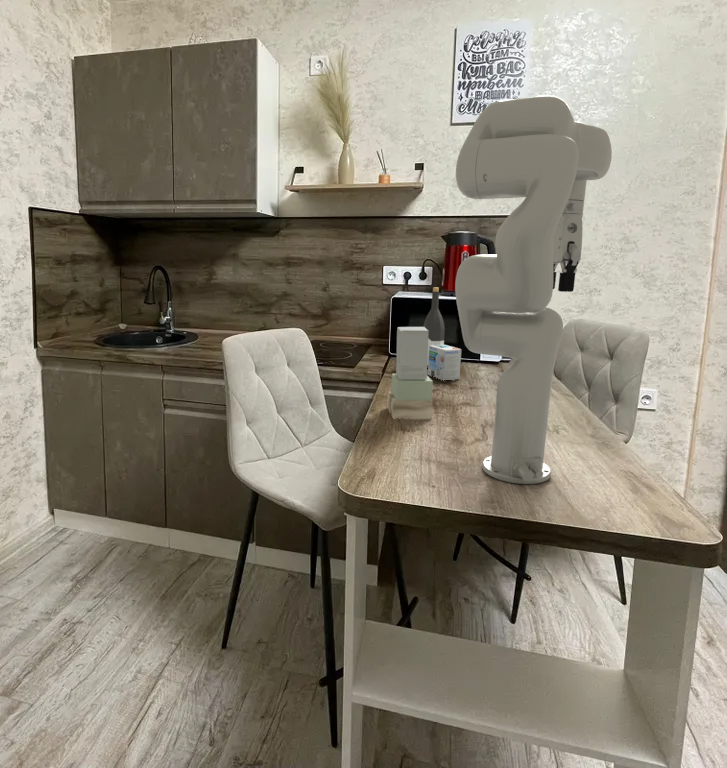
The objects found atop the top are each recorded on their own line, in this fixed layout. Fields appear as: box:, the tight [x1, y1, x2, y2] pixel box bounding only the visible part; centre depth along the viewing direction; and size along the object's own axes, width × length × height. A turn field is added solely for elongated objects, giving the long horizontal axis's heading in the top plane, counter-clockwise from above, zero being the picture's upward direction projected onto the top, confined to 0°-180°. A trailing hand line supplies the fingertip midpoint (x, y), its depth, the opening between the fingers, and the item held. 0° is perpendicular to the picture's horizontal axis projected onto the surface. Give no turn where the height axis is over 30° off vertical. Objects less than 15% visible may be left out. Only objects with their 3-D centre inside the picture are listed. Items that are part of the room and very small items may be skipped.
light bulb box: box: [427, 344, 462, 382], centre depth 179 cm, size 11×7×11 cm, turn 25°
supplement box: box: [395, 326, 429, 380], centre depth 133 cm, size 7×7×13 cm
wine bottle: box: [422, 286, 446, 368], centre depth 193 cm, size 8×8×30 cm
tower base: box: [387, 390, 434, 420], centre depth 136 cm, size 10×10×5 cm
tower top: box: [390, 373, 434, 401], centre depth 135 cm, size 9×9×5 cm
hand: (556, 290), depth 117 cm, fingers open, 9 cm apart
